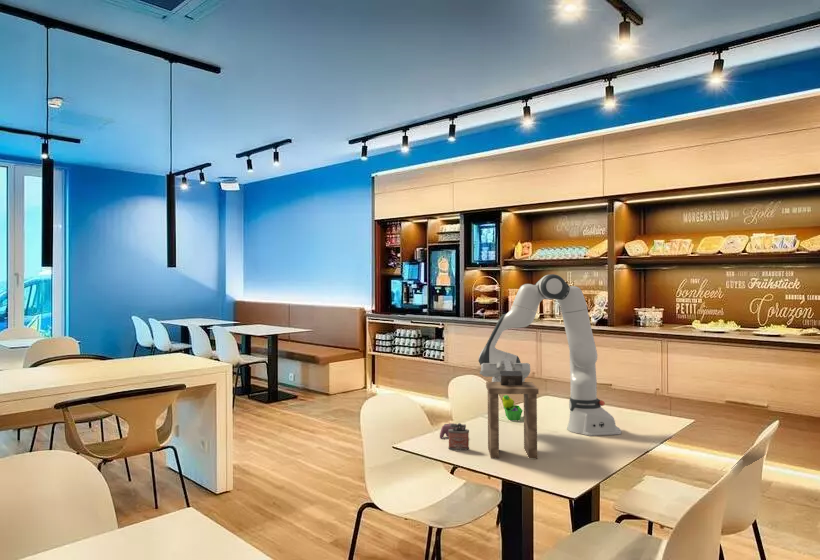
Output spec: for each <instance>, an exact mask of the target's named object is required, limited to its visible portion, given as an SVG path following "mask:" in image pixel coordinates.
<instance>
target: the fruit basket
mask: <svg viewBox="0 0 820 560" xmlns="http://www.w3.org/2000/svg"><path fill="white" fill-rule="evenodd" d="M502 406H503V409H504V412H505V416H507V417H506V418H507V419H508V421H509V420H517V421H518V420H520V421H521V418H522V413H523V412H524V409H522V408H521V407H520V405H518V404H517V405H515V401H514V399H512V397H510V396H509V394H504V395H503V396H502Z"/></svg>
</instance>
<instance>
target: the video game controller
mask: <svg viewBox="0 0 820 560" xmlns="http://www.w3.org/2000/svg"><path fill="white" fill-rule="evenodd" d="M450 424H455V423H454V422H453V423H452V422H450V423H444V424H443V425H442V426H441V429H440V433H439V438H440V439H443V437H444V436H446V437H447V438H449V432H448V430H449V429H453V428H454V427H450ZM455 429H457V427H455Z"/></svg>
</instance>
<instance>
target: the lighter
mask: <svg viewBox="0 0 820 560" xmlns="http://www.w3.org/2000/svg"><path fill="white" fill-rule="evenodd" d="M450 427H454V428H453V429H449V430H448V432H449V437H448V450H449V451H469V450H470V447H469V446H470V445H469V443H470V442H469V441H470V440H469V438H470V437H469V433H470V430H469V429H468V428H467V425H466V424H463V423H461V422H459V423H454V424H450ZM455 427H457V429H455Z"/></svg>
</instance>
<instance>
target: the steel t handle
mask: <svg viewBox="0 0 820 560" xmlns="http://www.w3.org/2000/svg"><path fill="white" fill-rule="evenodd" d="M503 361H504V370H505V371H500V383H501V385H522V373H521V371H513V370H512V367H511V363H510V360H509V359H503Z"/></svg>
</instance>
